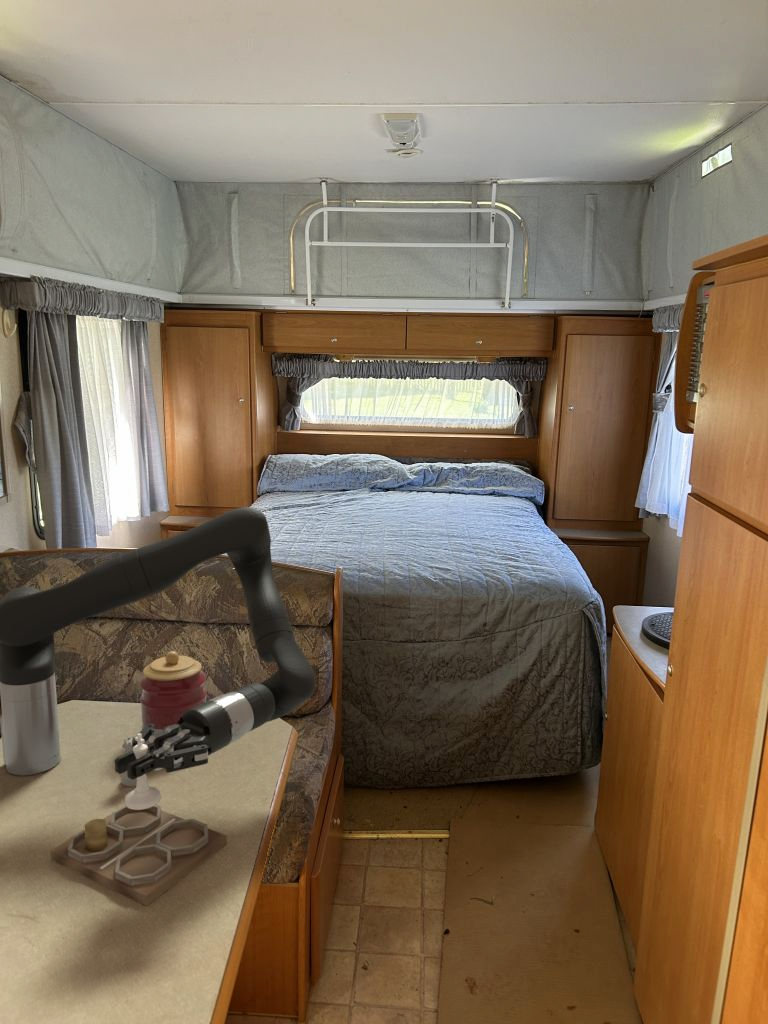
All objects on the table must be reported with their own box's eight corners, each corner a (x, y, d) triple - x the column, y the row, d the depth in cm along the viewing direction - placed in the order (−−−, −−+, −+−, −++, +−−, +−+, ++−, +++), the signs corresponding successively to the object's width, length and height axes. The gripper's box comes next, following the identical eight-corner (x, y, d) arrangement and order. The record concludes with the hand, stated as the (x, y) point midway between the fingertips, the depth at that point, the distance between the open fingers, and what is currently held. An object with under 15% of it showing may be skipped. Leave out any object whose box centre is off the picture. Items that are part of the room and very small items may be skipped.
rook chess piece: (138, 789, 130) (136, 746, 129) (115, 786, 131) (113, 743, 130) (151, 776, 134) (149, 734, 133) (129, 773, 135) (127, 732, 134)
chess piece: (148, 787, 108) (144, 723, 107) (168, 798, 105) (164, 733, 104) (117, 801, 105) (113, 735, 103) (137, 814, 102) (133, 746, 100)
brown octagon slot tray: (50, 859, 110) (48, 828, 109) (135, 808, 124) (133, 780, 123) (146, 905, 100) (145, 872, 100) (226, 844, 114) (225, 814, 113)
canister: (192, 752, 143) (189, 665, 140) (129, 747, 145) (125, 661, 142) (218, 723, 156) (215, 642, 153) (159, 718, 158) (156, 639, 155)
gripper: (186, 690, 119) (90, 731, 105) (248, 711, 111) (154, 758, 97) (188, 734, 120) (93, 780, 106) (250, 757, 112) (157, 811, 98)
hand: (123, 769), depth 102 cm, fingers closed on chess piece
